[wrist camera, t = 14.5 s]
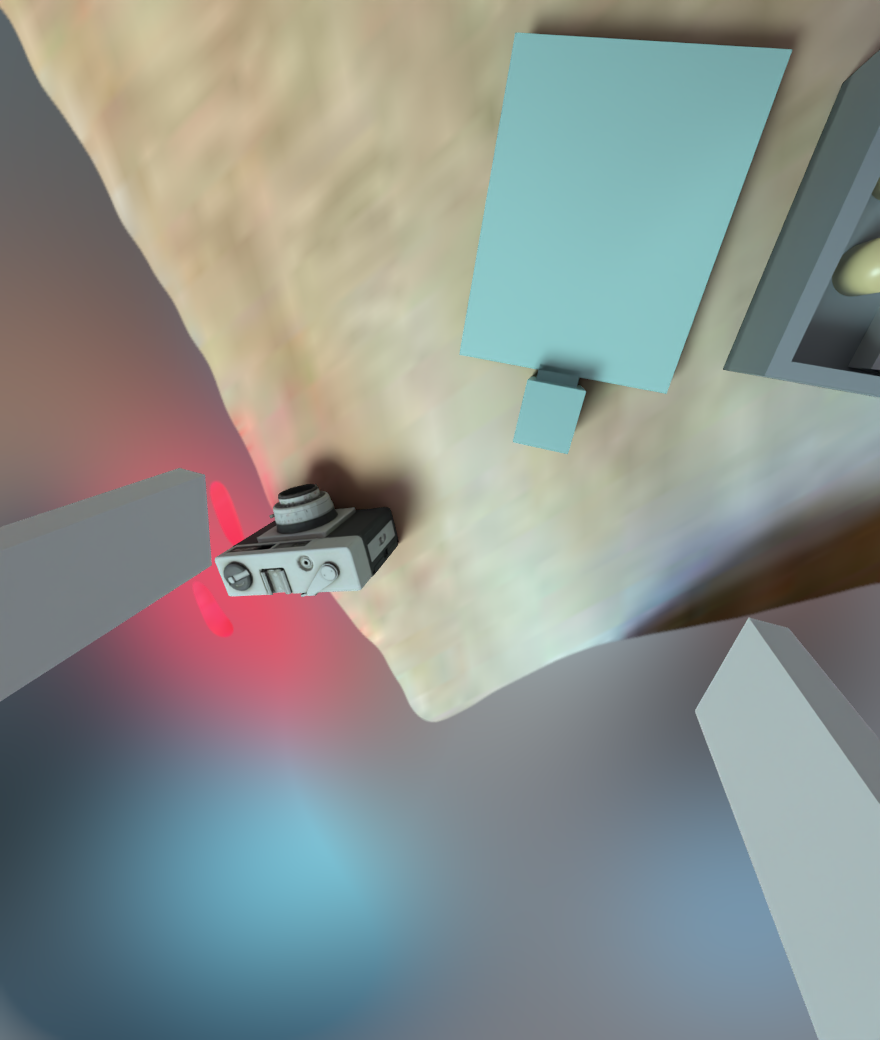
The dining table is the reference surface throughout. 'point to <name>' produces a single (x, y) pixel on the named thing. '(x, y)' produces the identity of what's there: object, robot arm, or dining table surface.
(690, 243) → the lid
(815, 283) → the tub
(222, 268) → the dining table surface
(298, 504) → the camera
